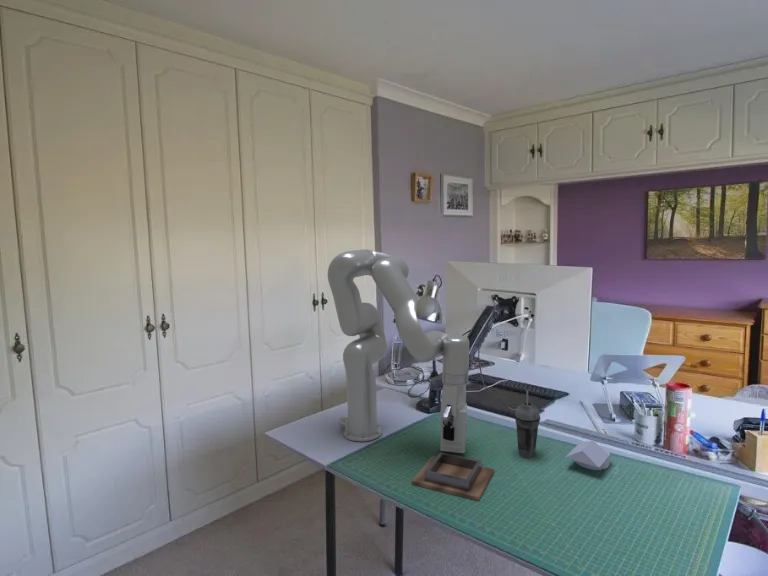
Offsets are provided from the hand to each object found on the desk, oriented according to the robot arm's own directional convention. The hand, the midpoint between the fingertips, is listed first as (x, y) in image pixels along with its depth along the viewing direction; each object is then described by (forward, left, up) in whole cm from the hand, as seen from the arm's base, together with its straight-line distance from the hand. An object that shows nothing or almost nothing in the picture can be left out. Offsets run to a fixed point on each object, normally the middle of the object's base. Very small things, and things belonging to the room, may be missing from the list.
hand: (453, 433), depth 142 cm
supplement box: (0, 0, -4) cm, 4 cm away
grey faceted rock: (+37, +9, -6) cm, 38 cm away
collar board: (+5, -14, -6) cm, 16 cm away
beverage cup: (+20, +8, -6) cm, 22 cm away
